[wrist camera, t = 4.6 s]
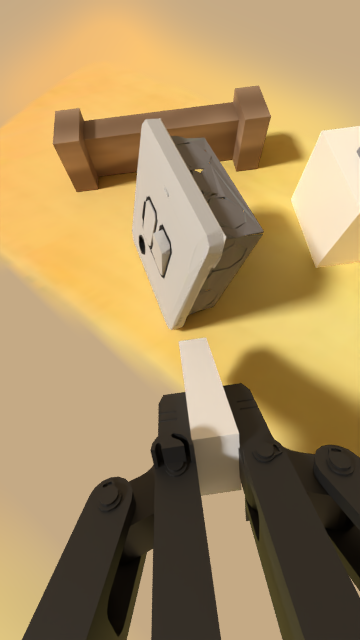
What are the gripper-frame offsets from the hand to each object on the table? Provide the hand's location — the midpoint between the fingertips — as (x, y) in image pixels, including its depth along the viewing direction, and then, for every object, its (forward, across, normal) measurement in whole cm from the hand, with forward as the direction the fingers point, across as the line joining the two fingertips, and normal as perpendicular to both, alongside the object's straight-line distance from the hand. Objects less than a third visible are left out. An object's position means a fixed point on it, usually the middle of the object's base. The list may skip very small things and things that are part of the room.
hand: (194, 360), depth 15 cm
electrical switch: (+9, 0, -3) cm, 9 cm away
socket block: (+10, -14, -5) cm, 18 cm away
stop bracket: (+17, 0, -12) cm, 21 cm away
